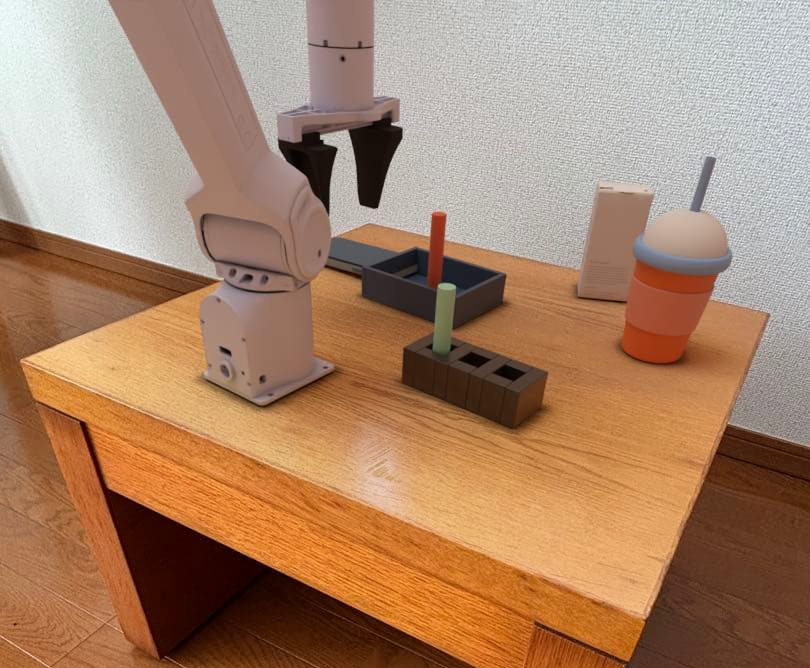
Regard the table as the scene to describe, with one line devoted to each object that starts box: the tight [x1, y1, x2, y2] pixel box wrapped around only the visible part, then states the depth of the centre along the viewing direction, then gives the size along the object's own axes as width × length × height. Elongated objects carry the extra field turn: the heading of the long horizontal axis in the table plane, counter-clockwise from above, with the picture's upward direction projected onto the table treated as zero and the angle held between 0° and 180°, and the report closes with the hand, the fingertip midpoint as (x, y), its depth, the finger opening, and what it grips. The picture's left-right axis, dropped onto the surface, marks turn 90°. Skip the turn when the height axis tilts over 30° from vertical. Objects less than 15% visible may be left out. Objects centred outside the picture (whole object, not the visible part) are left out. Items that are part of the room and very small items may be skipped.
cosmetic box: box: [576, 180, 655, 302], centre depth 77 cm, size 6×4×12 cm
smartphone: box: [325, 236, 417, 278], centre depth 84 cm, size 8×2×15 cm
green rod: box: [433, 283, 456, 355], centre depth 59 cm, size 2×2×9 cm
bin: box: [361, 246, 507, 330], centre depth 76 cm, size 13×10×3 cm
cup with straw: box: [621, 156, 733, 364], centre depth 63 cm, size 9×9×18 cm
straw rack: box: [401, 331, 549, 429], centre depth 59 cm, size 12×5×4 cm, turn 52°
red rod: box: [427, 211, 448, 289], centre depth 74 cm, size 2×2×9 cm
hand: (344, 214), depth 65 cm, fingers open, 7 cm apart
